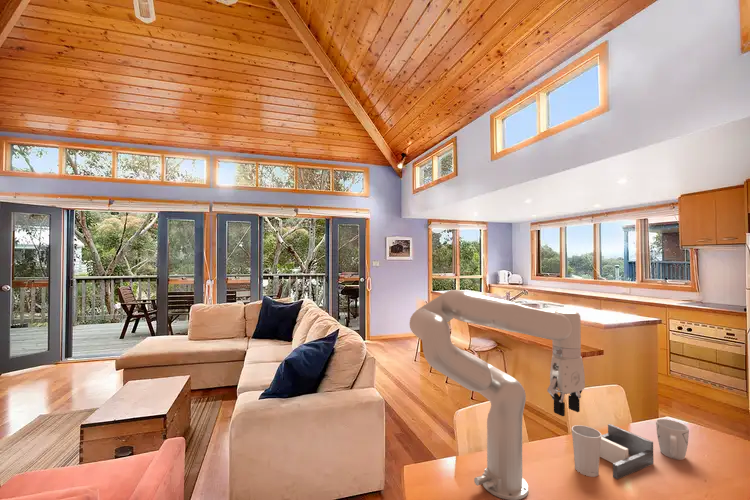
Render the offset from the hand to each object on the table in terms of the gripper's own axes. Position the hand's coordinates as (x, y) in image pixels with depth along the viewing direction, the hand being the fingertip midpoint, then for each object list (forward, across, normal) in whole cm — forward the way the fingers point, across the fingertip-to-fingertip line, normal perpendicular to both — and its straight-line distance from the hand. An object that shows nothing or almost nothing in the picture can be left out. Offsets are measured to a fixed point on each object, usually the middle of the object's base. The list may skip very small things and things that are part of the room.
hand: (566, 411), depth 105 cm
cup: (+20, +9, 0) cm, 22 cm away
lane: (+19, +22, 0) cm, 29 cm away
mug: (+20, +43, -7) cm, 48 cm away
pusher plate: (+19, +21, 0) cm, 28 cm away
